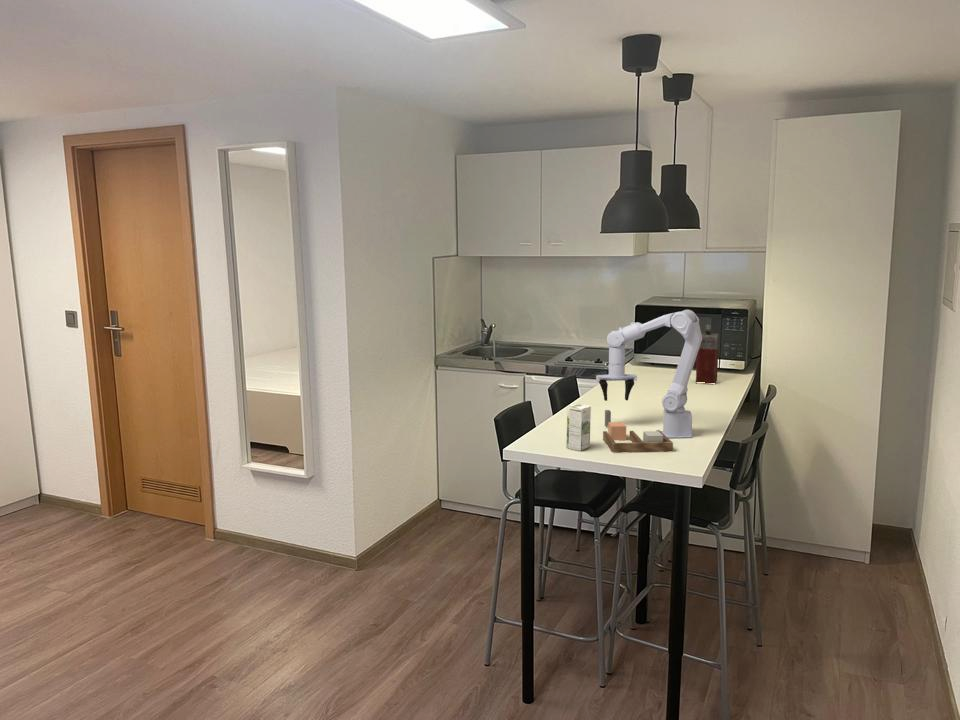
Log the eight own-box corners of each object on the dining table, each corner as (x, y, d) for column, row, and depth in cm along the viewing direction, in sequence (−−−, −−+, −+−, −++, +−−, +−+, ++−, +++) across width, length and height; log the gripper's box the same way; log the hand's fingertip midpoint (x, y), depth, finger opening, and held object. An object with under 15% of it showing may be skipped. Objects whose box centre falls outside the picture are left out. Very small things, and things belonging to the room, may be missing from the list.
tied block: (613, 425, 272) (613, 409, 271) (626, 440, 252) (626, 423, 251) (600, 425, 272) (600, 410, 271) (611, 440, 251) (611, 423, 250)
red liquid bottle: (693, 379, 360) (695, 323, 355) (717, 381, 355) (719, 324, 351) (690, 383, 351) (692, 325, 347) (715, 384, 347) (717, 326, 343)
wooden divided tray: (659, 438, 253) (659, 430, 253) (672, 451, 237) (672, 442, 237) (603, 439, 253) (603, 431, 252) (612, 452, 237) (612, 443, 236)
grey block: (657, 445, 245) (658, 431, 244) (662, 450, 239) (663, 435, 239) (643, 445, 245) (643, 431, 244) (647, 450, 239) (647, 435, 238)
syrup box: (575, 444, 247) (575, 402, 244) (590, 447, 243) (591, 405, 241) (566, 448, 242) (566, 406, 240) (581, 451, 238) (581, 408, 236)
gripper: (634, 361, 269) (633, 397, 271) (594, 361, 269) (594, 398, 271) (638, 364, 262) (637, 401, 264) (598, 365, 262) (597, 402, 264)
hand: (616, 400), depth 267 cm, fingers open, 7 cm apart
